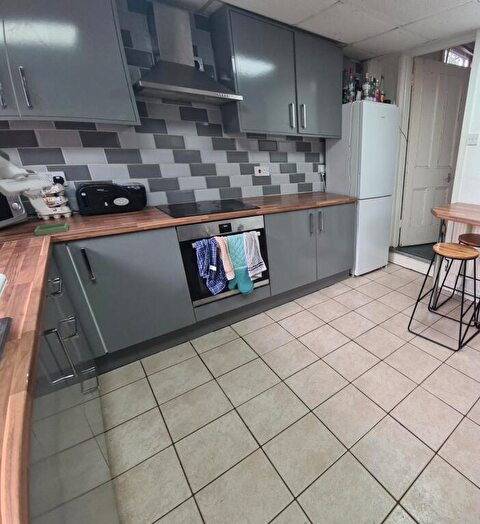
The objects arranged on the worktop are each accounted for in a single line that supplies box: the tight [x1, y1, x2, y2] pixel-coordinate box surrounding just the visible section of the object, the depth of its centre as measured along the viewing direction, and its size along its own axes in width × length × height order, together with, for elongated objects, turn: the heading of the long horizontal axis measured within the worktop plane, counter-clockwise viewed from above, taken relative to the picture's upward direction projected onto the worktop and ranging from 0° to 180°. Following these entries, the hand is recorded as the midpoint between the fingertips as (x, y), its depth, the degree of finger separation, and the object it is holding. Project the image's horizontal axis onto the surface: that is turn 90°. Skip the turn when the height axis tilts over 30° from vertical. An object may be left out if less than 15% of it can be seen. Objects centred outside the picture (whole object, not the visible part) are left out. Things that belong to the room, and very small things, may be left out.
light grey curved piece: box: [27, 187, 53, 214], centre depth 145 cm, size 5×6×12 cm
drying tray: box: [33, 221, 70, 236], centre depth 152 cm, size 12×12×2 cm
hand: (40, 197), depth 145 cm, fingers closed on light grey curved piece, 3 cm apart
